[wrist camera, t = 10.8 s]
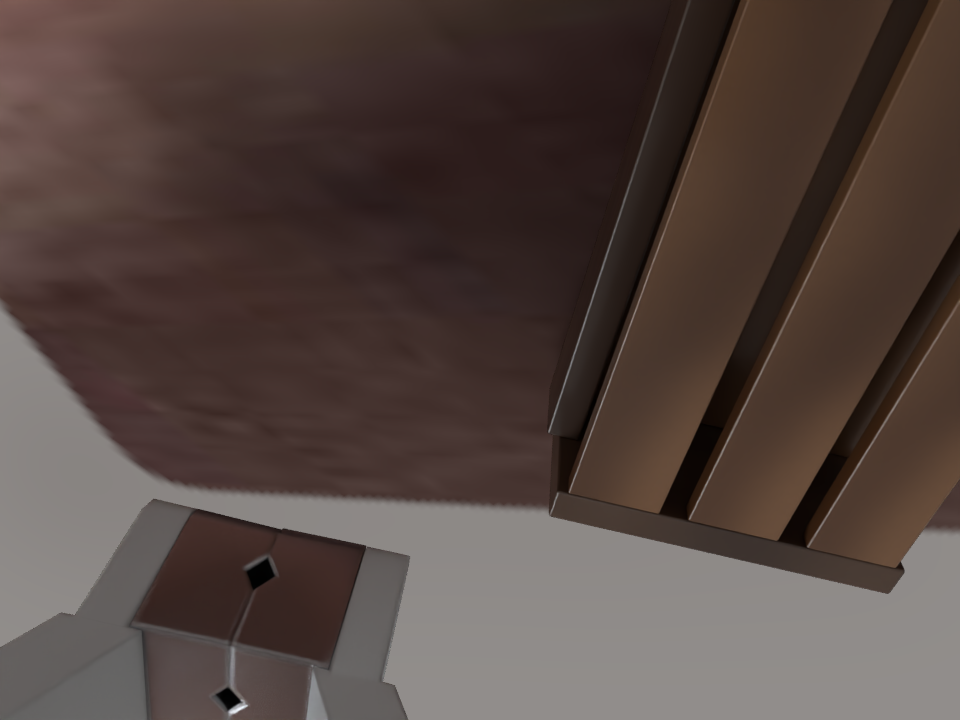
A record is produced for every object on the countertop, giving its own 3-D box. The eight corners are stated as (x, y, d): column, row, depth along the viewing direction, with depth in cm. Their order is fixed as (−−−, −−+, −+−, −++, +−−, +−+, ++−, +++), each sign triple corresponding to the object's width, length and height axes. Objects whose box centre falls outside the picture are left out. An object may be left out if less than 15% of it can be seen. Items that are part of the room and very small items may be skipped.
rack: (543, 382, 29) (533, 513, 23) (706, -146, 20) (753, -136, 14) (831, 449, 29) (889, 595, 23) (1118, -43, 20) (1319, 6, 15)
